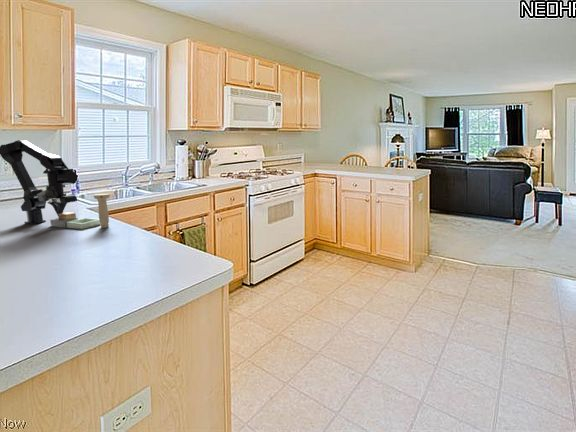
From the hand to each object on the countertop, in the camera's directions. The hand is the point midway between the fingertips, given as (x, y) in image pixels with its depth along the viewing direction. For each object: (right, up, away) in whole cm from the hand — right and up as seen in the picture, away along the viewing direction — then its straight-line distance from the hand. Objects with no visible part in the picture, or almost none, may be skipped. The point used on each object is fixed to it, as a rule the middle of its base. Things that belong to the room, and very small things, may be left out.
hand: (59, 216), depth 185 cm
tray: (+13, -4, -3) cm, 15 cm away
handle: (+24, -5, -6) cm, 25 cm away
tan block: (+5, -1, -2) cm, 5 cm away
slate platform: (+3, -4, -2) cm, 6 cm away
